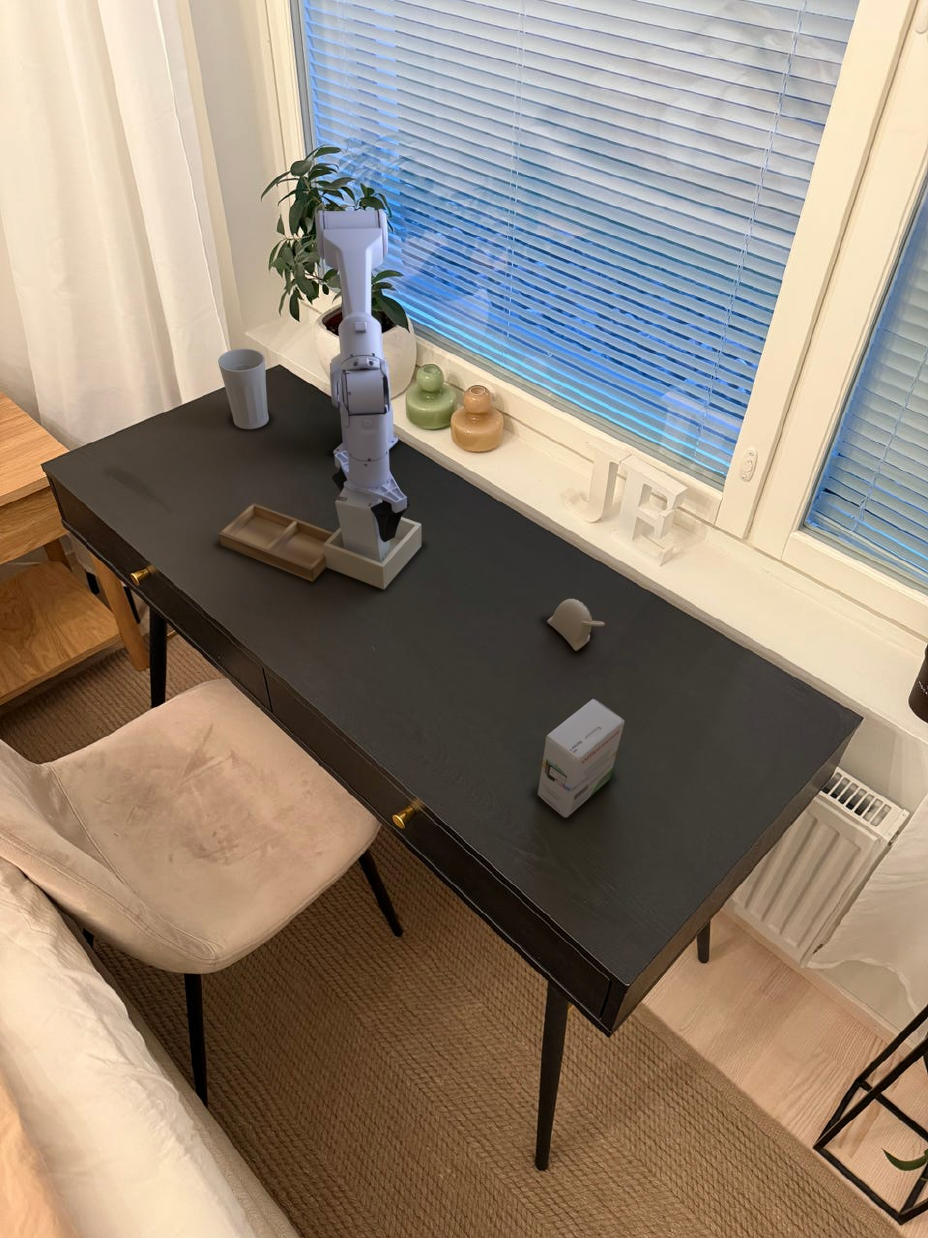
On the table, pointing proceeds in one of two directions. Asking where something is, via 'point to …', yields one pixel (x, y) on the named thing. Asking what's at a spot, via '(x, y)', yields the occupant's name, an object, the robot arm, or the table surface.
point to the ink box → (579, 757)
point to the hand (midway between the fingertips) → (372, 525)
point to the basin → (369, 569)
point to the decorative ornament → (573, 622)
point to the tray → (278, 541)
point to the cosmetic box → (360, 525)
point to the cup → (245, 386)
